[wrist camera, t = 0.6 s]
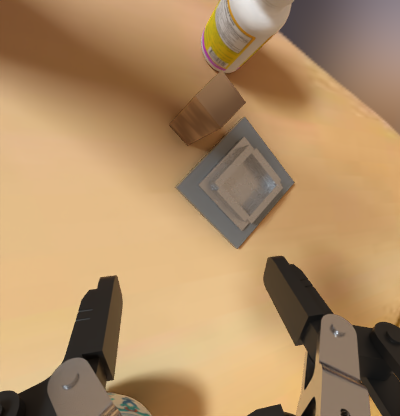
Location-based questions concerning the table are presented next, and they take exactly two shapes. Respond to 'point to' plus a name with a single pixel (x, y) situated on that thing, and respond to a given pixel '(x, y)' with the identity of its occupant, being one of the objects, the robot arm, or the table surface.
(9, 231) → the table surface
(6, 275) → the table surface
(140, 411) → the chinaware
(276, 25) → the supplement bottle
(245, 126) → the coaster
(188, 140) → the brown wooden block
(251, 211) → the open square frame
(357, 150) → the table surface
